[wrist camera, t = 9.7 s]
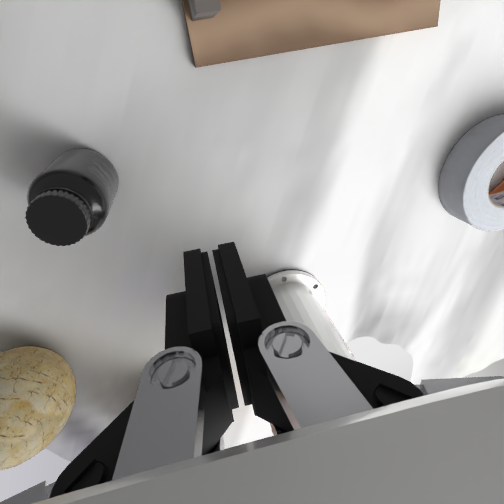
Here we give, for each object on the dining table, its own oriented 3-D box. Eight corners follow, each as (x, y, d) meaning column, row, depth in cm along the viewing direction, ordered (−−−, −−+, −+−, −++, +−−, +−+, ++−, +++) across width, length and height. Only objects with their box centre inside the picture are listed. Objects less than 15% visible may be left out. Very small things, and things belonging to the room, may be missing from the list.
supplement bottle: (47, 145, 37) (0, 179, 26) (116, 148, 38) (96, 181, 28) (59, 206, 40) (21, 257, 30) (121, 206, 41) (106, 255, 31)
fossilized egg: (-22, 383, 49) (-88, 497, 37) (-8, 316, 45) (-78, 419, 32) (73, 395, 54) (44, 499, 41) (95, 336, 50) (69, 432, 37)
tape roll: (488, 92, 44) (523, 96, 40) (554, 140, 50) (590, 148, 46) (417, 198, 50) (440, 211, 46) (483, 230, 56) (510, 245, 51)
